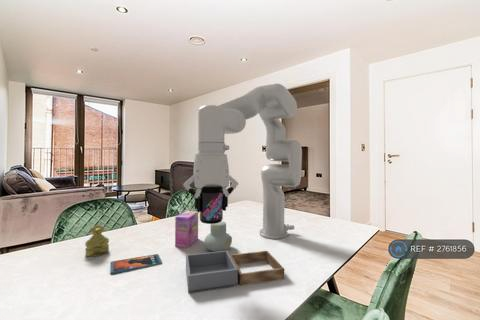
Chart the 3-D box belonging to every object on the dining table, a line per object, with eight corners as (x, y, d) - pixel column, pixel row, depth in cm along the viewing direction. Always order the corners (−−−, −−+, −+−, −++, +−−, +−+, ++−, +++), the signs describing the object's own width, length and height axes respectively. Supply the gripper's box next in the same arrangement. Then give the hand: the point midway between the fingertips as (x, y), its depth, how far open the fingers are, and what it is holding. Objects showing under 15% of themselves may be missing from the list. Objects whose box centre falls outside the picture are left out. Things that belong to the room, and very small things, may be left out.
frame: (267, 259, 81) (267, 250, 81) (284, 278, 68) (284, 268, 68) (229, 263, 77) (229, 254, 77) (240, 285, 65) (240, 274, 65)
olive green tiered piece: (113, 250, 88) (113, 223, 88) (95, 258, 81) (95, 229, 81) (98, 247, 90) (98, 221, 90) (80, 255, 83) (79, 227, 83)
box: (188, 248, 91) (188, 217, 90) (174, 246, 92) (174, 216, 91) (198, 238, 101) (198, 211, 100) (186, 237, 102) (186, 210, 102)
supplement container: (196, 224, 66) (197, 186, 65) (202, 217, 72) (202, 183, 72) (221, 224, 65) (221, 187, 65) (224, 218, 72) (224, 184, 72)
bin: (227, 264, 77) (227, 250, 77) (237, 285, 65) (237, 269, 64) (185, 269, 74) (185, 254, 74) (188, 293, 61) (188, 275, 61)
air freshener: (222, 256, 83) (222, 228, 83) (201, 253, 86) (201, 226, 86) (233, 245, 93) (233, 220, 93) (214, 242, 96) (215, 218, 96)
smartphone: (162, 262, 77) (110, 272, 70) (162, 266, 77) (110, 276, 70) (158, 252, 84) (110, 260, 77) (158, 256, 84) (110, 264, 77)
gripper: (237, 149, 74) (236, 206, 75) (180, 149, 70) (180, 209, 70) (243, 149, 67) (243, 211, 68) (181, 148, 62) (181, 215, 63)
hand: (211, 209), depth 69 cm, fingers closed on supplement container, 6 cm apart
